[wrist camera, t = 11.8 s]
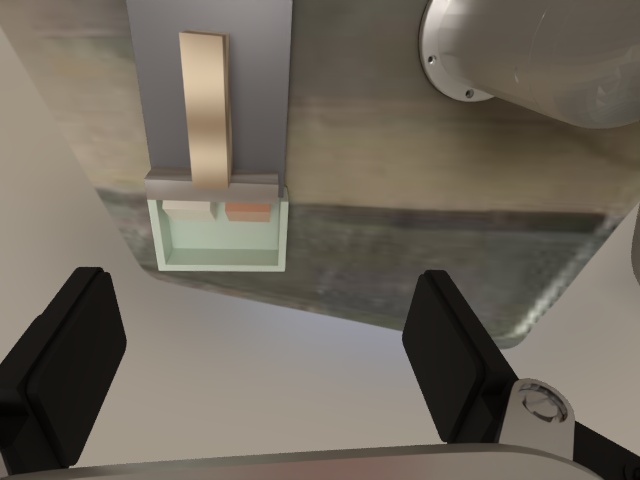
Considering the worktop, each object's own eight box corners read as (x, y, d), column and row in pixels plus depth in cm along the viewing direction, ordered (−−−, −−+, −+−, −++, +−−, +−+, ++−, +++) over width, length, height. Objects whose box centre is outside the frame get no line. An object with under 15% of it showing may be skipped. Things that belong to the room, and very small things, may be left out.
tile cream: (163, 189, 37) (162, 208, 36) (210, 191, 37) (209, 210, 37) (174, 202, 41) (173, 220, 40) (216, 204, 42) (215, 221, 41)
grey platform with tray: (106, -176, 26) (81, -204, 23) (303, -143, 28) (308, -164, 25) (167, 250, 45) (158, 270, 41) (283, 252, 47) (284, 271, 43)
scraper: (133, 23, 30) (111, 25, 26) (282, 38, 32) (284, 42, 27) (157, 184, 37) (142, 206, 33) (277, 189, 39) (278, 211, 35)
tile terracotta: (225, 191, 37) (224, 211, 37) (270, 193, 38) (270, 212, 38) (229, 203, 42) (229, 221, 41) (269, 205, 42) (269, 222, 42)
